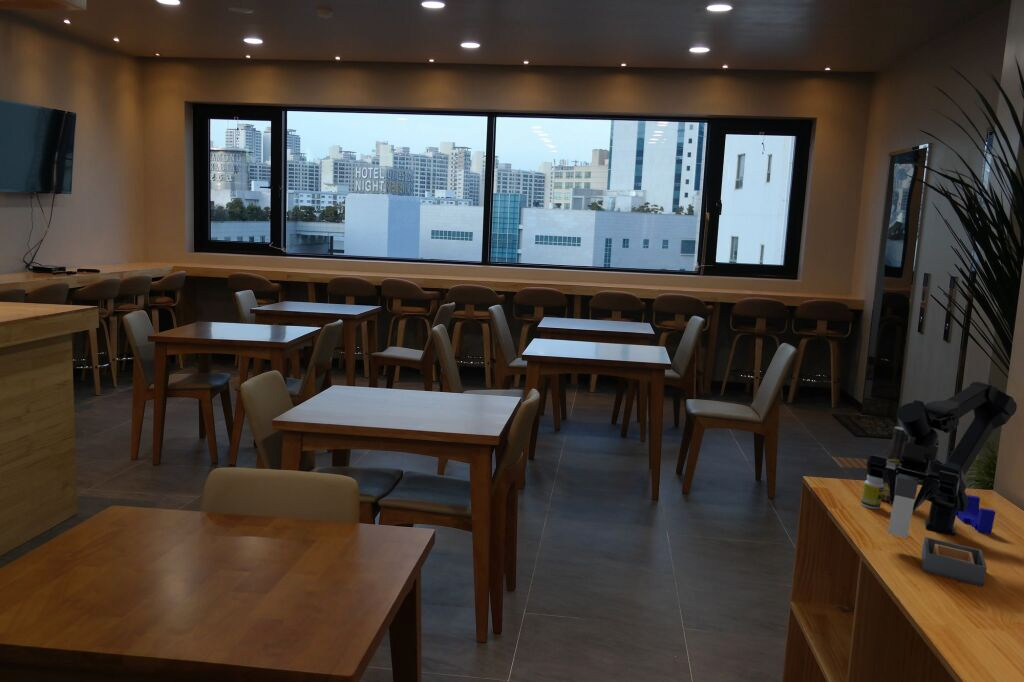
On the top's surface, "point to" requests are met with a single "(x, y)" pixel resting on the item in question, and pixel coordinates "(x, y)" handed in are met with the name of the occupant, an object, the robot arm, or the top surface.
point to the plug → (903, 505)
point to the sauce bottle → (894, 454)
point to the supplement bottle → (872, 492)
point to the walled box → (953, 561)
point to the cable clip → (977, 515)
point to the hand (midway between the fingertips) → (902, 506)
